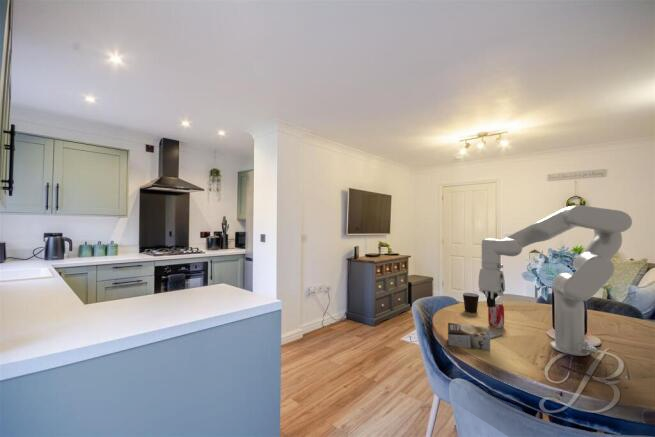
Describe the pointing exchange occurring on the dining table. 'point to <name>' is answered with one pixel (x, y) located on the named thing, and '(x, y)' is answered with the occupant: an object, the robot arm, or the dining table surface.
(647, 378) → the dining table surface
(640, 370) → the dining table surface
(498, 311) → the soda can
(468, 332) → the coffee box
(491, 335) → the mat
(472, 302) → the coffee mug
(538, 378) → the dining table surface
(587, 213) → the robot arm
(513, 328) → the dining table surface
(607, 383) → the fork
